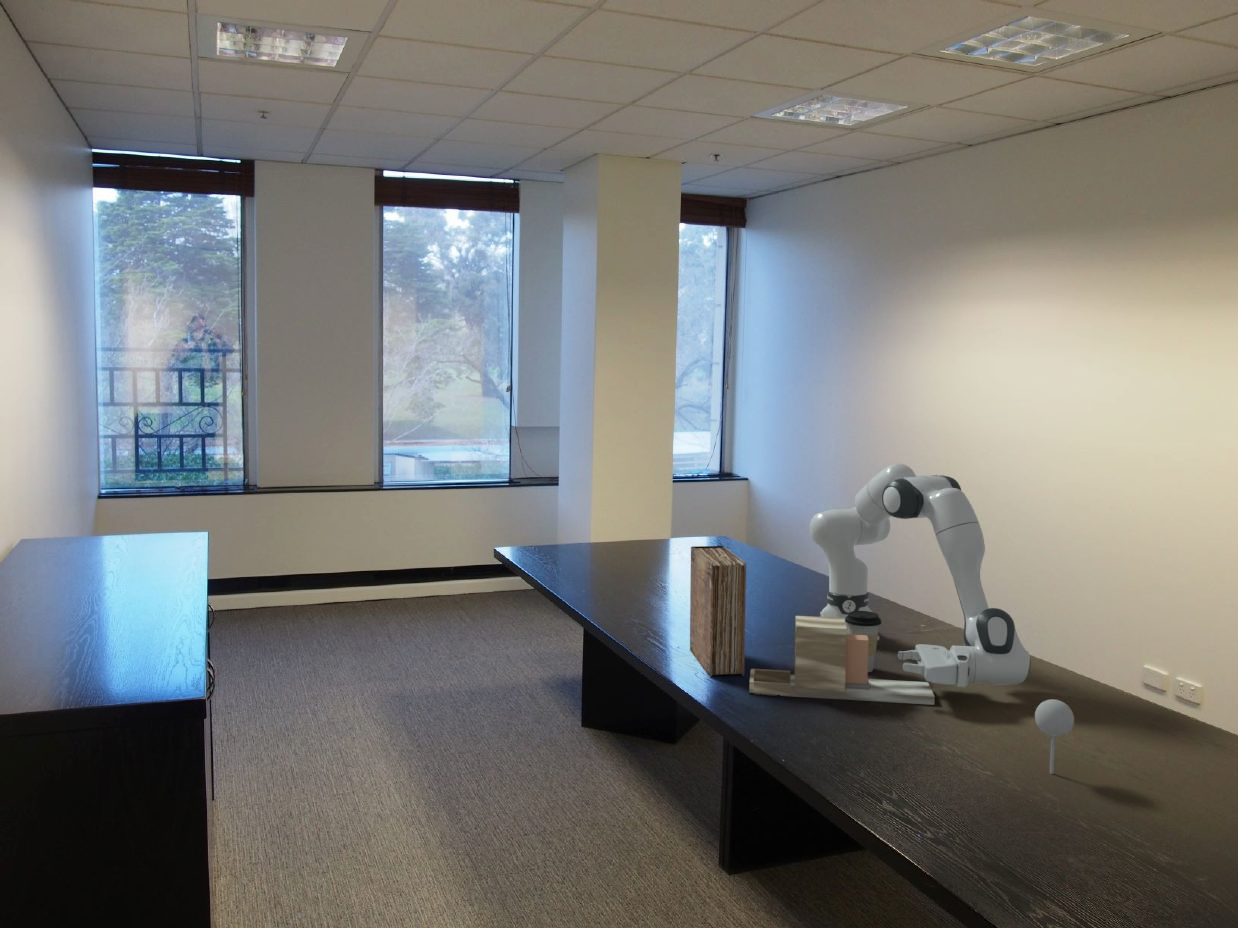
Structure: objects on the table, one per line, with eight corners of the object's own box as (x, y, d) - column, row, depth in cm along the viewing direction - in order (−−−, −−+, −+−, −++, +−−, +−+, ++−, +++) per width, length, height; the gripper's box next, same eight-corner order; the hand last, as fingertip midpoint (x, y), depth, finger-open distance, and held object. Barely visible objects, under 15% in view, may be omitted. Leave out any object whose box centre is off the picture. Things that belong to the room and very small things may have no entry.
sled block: (818, 678, 249) (819, 632, 247) (867, 681, 247) (868, 634, 246) (819, 686, 243) (820, 638, 242) (869, 689, 241) (870, 641, 240)
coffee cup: (854, 675, 258) (856, 619, 256) (837, 665, 267) (838, 611, 265) (886, 673, 260) (888, 617, 259) (868, 662, 269) (870, 608, 268)
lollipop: (1060, 765, 200) (1064, 694, 199) (1077, 780, 193) (1081, 706, 192) (1026, 766, 200) (1029, 694, 199) (1042, 780, 193) (1045, 706, 192)
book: (744, 676, 257) (746, 563, 254) (709, 677, 256) (711, 563, 253) (721, 648, 282) (722, 545, 279) (689, 649, 281) (690, 546, 278)
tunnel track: (750, 679, 254) (752, 613, 252) (927, 689, 247) (930, 621, 245) (749, 693, 243) (750, 624, 242) (934, 704, 236) (937, 633, 234)
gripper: (952, 639, 250) (896, 636, 252) (967, 663, 230) (906, 660, 232) (951, 663, 250) (895, 660, 253) (966, 690, 230) (905, 686, 233)
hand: (900, 660), depth 242 cm, fingers open, 8 cm apart
